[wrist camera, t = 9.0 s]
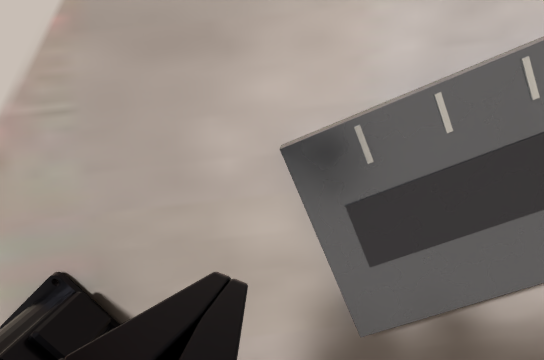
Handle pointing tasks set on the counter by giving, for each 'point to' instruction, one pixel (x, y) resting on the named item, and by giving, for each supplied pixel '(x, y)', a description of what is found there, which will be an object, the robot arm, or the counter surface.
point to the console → (432, 192)
